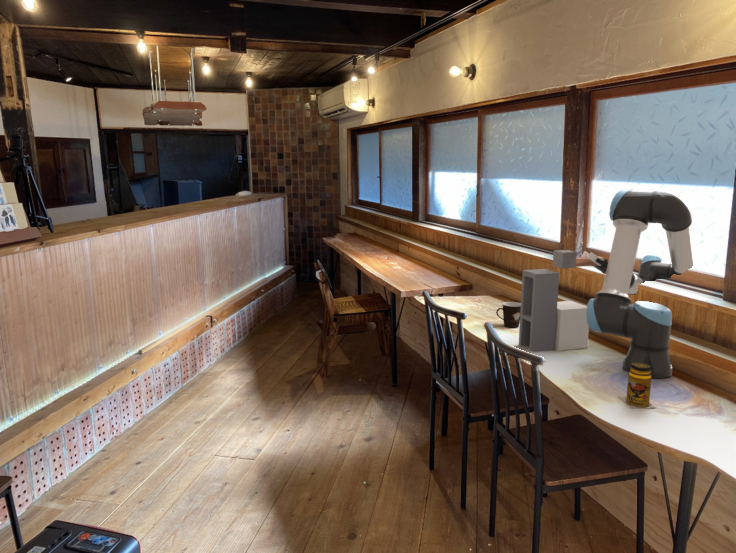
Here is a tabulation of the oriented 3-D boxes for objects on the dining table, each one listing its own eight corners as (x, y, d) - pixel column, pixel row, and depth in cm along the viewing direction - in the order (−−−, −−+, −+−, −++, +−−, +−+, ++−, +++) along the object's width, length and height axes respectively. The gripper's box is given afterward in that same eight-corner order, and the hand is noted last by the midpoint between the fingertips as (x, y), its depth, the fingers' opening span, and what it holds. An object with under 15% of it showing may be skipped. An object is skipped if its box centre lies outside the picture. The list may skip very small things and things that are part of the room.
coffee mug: (519, 323, 246) (520, 302, 244) (523, 329, 237) (524, 306, 235) (493, 323, 247) (494, 301, 245) (495, 328, 238) (496, 306, 237)
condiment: (630, 408, 157) (634, 369, 155) (617, 396, 165) (621, 359, 163) (656, 408, 157) (660, 369, 155) (641, 397, 165) (645, 359, 163)
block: (587, 347, 212) (590, 307, 209) (558, 350, 208) (561, 309, 205) (568, 338, 223) (570, 300, 220) (540, 341, 220) (542, 302, 217)
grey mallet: (606, 265, 211) (608, 250, 210) (562, 268, 206) (563, 252, 205) (596, 263, 217) (597, 248, 216) (552, 265, 211) (553, 250, 210)
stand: (554, 349, 209) (559, 272, 204) (531, 351, 207) (535, 274, 201) (540, 342, 218) (545, 268, 212) (518, 344, 215) (522, 270, 210)
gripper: (637, 293, 211) (595, 266, 204) (609, 285, 227) (568, 260, 219) (647, 276, 211) (605, 248, 203) (618, 269, 226) (578, 243, 219)
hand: (586, 254), depth 211 cm, fingers closed on grey mallet, 3 cm apart
